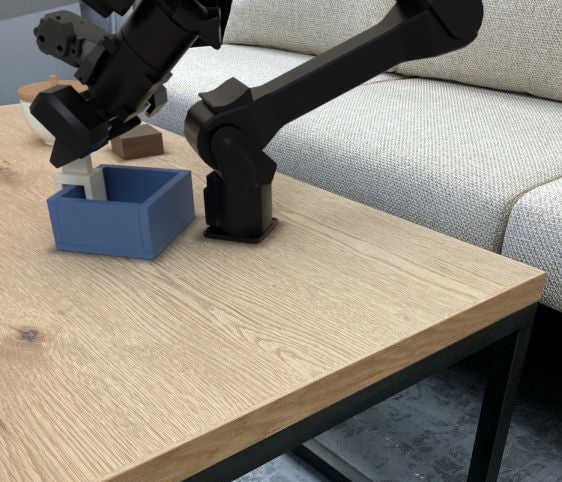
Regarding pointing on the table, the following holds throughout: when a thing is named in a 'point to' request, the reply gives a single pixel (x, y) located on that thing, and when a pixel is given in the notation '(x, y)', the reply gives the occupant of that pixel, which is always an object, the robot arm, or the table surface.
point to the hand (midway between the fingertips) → (63, 158)
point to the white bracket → (82, 178)
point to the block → (138, 143)
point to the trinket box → (29, 94)
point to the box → (124, 212)
